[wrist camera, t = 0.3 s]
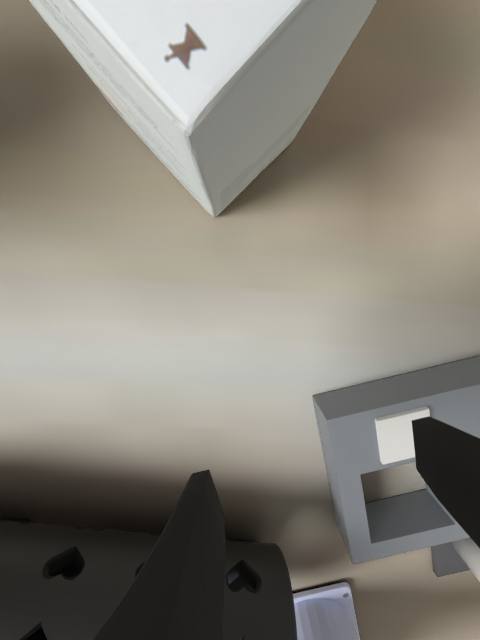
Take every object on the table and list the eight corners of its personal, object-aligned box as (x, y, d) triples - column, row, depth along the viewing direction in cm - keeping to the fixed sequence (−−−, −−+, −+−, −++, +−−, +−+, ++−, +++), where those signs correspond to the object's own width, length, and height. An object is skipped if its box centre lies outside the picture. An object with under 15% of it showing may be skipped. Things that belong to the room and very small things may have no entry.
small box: (294, 141, 16) (527, -218, 4) (214, 221, 17) (184, 147, 5) (192, 9, 15) (-12, -1474, 2) (109, 105, 15) (-402, -522, 3)
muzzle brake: (254, 587, 25) (273, 817, 15) (-99, 561, 22) (-363, 817, 12) (276, 497, 23) (316, 696, 13) (-113, 457, 20) (-450, 667, 10)
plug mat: (511, 552, 25) (517, 558, 25) (433, 570, 25) (437, 577, 25) (512, 488, 23) (518, 494, 23) (427, 508, 23) (432, 514, 23)
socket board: (555, 474, 23) (608, 510, 20) (337, 524, 23) (354, 569, 20) (562, 336, 20) (625, 352, 17) (312, 395, 20) (328, 423, 17)
